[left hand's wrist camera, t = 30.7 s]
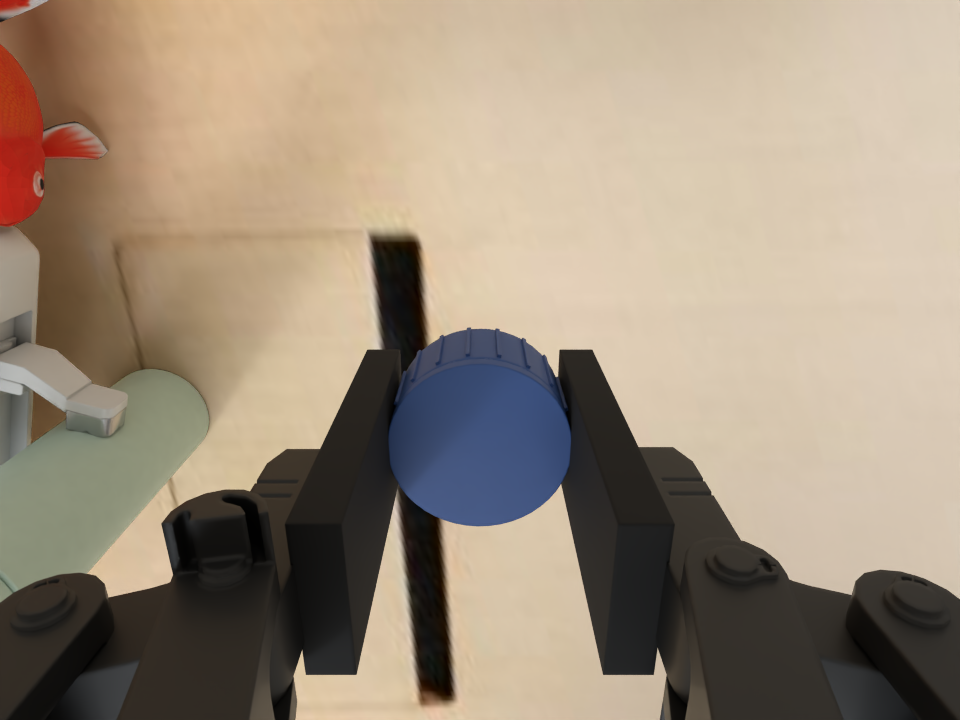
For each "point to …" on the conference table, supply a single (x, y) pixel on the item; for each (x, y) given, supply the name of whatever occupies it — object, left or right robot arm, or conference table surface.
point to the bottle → (93, 480)
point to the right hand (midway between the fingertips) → (113, 478)
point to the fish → (30, 135)
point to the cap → (479, 429)
